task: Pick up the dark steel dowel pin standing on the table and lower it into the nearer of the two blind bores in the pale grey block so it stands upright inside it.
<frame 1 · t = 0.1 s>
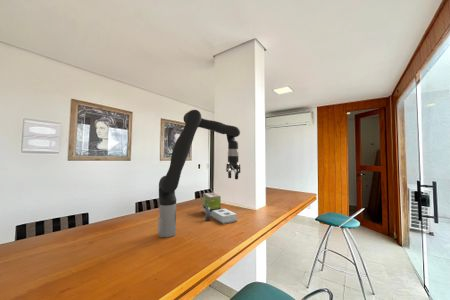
hand: (233, 178, 130), 29 cm above the counter, fingers open, 8 cm apart
bore block: (224, 219, 132), on the counter
pin: (207, 220, 130), on the counter
tea box: (211, 213, 147), on the counter
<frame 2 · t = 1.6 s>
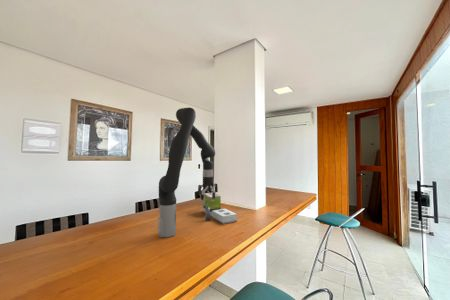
hand: (208, 199, 130), 15 cm above the counter, fingers open, 8 cm apart
nothing on the counter moved.
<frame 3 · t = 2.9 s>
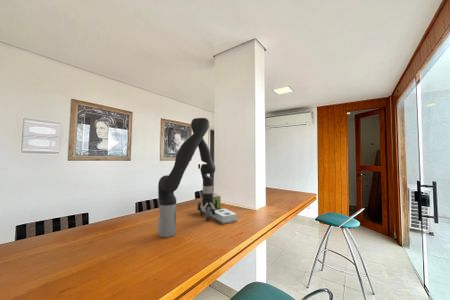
hand: (207, 215, 130), 3 cm above the counter, fingers open, 8 cm apart
nothing on the counter moved.
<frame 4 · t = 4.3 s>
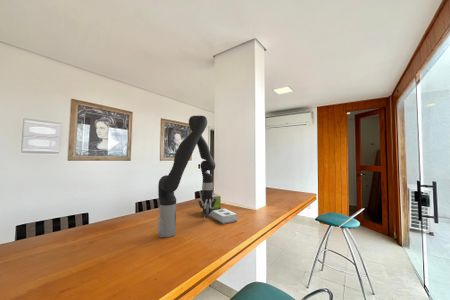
hand: (206, 213, 130), 5 cm above the counter, fingers closed on pin, 3 cm apart
pin: (206, 216, 130), point 2 cm above the counter, touching gripper
everything else where it was.
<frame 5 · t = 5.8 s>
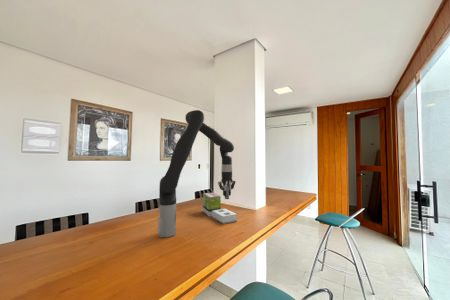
hand: (226, 195, 129), 17 cm above the counter, fingers closed on pin, 3 cm apart
pin: (226, 198, 129), point 15 cm above the counter, touching gripper
everything else where it was.
when the fingers open (6 cm above the counter, at t = 8.0 s): pin drops 2 cm, resting on bore block.
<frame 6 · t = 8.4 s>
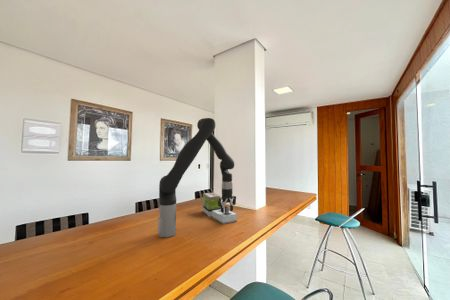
hand: (227, 211, 129), 6 cm above the counter, fingers open, 6 cm apart
pin: (226, 219, 128), point 1 cm above the counter, touching bore block
everything else where it was.
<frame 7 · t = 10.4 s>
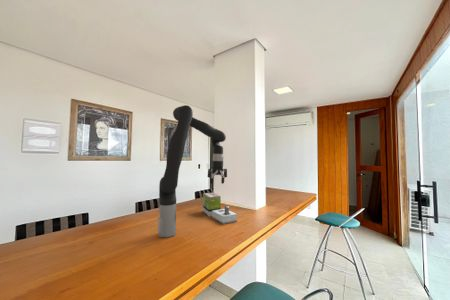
hand: (217, 183, 130), 26 cm above the counter, fingers open, 8 cm apart
nothing on the counter moved.
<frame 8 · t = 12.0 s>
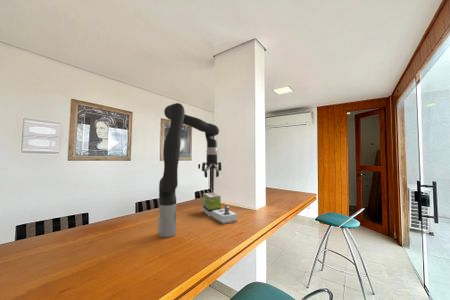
hand: (211, 177, 130), 30 cm above the counter, fingers open, 8 cm apart
nothing on the counter moved.
at the end: pin 0.2 cm from the target spot on the bore block, point 1.0 cm above the bore block's base; pin tilted 0°; the gripper is holding nothing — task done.
